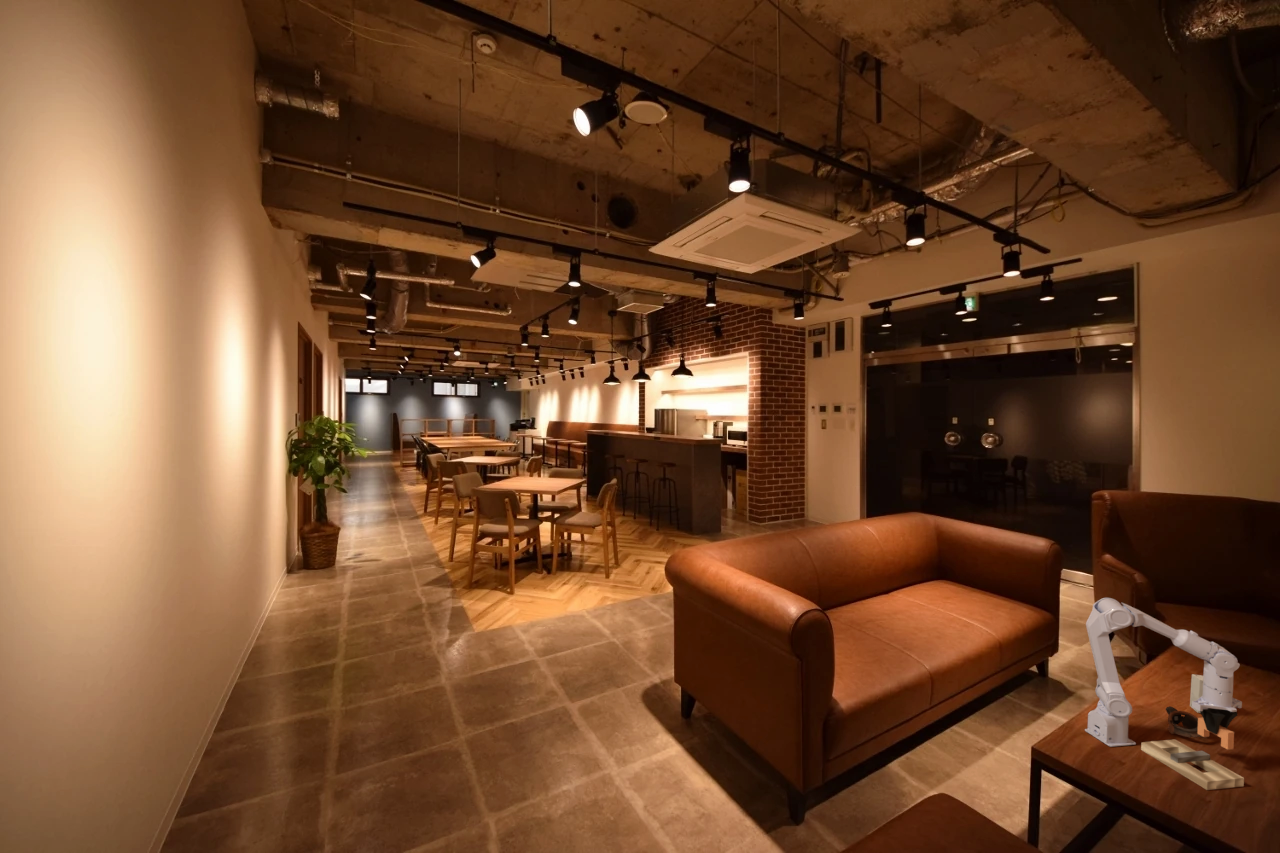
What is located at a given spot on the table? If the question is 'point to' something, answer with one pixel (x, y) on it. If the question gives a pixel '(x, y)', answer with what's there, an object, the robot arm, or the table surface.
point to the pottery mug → (1187, 720)
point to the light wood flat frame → (1179, 753)
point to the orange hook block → (1224, 733)
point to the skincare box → (1196, 689)
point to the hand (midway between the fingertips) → (1215, 731)
